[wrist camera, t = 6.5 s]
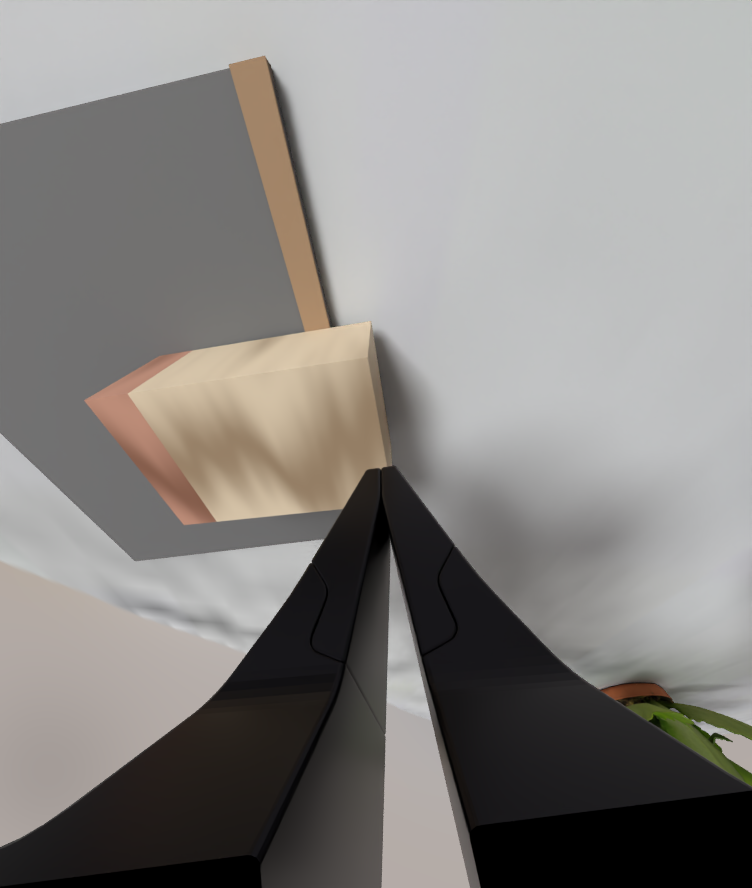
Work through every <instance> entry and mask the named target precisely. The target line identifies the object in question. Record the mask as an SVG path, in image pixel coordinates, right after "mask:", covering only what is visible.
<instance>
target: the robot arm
mask: <svg viewBox="0 0 752 888" xmlns="http://www.w3.org/2000/svg"><path fill="white" fill-rule="evenodd" d="M390 540H391V545H392V550H393V554H394V559H395V563H396V567H397V572H398V576H399V580H400V585H401V589H402V593H403V598H404V602H405V606H406V611H407V615H408V619H409V624H410V628H411V632H412V637H413V641H414V645H415V650H416V654H417V658H418V663H419V667H420V671H421V676H422V680H423V684H424V689H425V693H426V698H427V702H428V706H429V711H430V715H431V719H432V724H433V727H434V731H435V737H436V741H437V745H438V750H439V754H440V758H441V763H442V767H443V771H444V776H445V780H446V784H447V788H448V792H449V797H450V802H451V806H452V810H453V814H454V819H455V823H456V828H457V832H458V836H459V841H460V845H461V850H462V854H463V858H464V862H465V867H466V871H467V875H468V880H469V884H470V888H752V786H750V785H749V784H747V783H745V782H744V781H742V780H740V779H738V778H737V777H735V776H733V775H732V774H730V773H728V772H727V771H725V770H724V769H722V768H720V767H719V766H717V765H716V764H714V763H713V762H711V761H710V760H708V759H706V758H705V757H703V756H702V755H700V754H699V753H697V752H696V751H694V750H692V749H691V748H689V747H688V746H686V745H685V744H683V743H681V742H680V741H678V740H677V739H675V738H674V737H672V736H671V735H669V734H667V733H666V732H664V731H663V730H661V729H660V728H658V727H657V726H655V725H653V724H652V723H650V722H649V721H647V720H646V719H644V718H643V717H641V716H639V715H638V714H636V713H635V712H633V711H632V710H630V709H629V708H627V707H625V706H624V705H622V704H621V703H619V702H618V701H616V700H615V699H613V698H611V697H610V696H608V695H607V694H605V693H604V692H602V691H600V690H599V689H597V688H596V687H594V686H593V685H591V684H590V683H588V682H587V681H585V680H584V679H583V678H581V677H580V676H578V675H577V674H576V673H574V672H573V671H572V670H571V669H570V668H569V667H567V666H566V665H565V664H564V663H563V662H562V661H561V660H559V659H558V658H557V657H556V656H555V655H554V654H553V653H552V652H551V651H550V650H549V649H548V648H547V647H546V646H545V645H544V644H543V643H542V642H541V641H540V640H539V639H538V638H537V637H536V635H535V634H534V633H533V632H532V631H531V630H530V629H529V628H528V627H527V626H526V625H525V624H524V623H523V622H522V621H521V620H520V619H519V618H518V617H517V616H516V615H515V614H514V613H513V612H512V610H511V609H510V608H509V607H508V606H507V605H506V604H505V603H504V602H503V601H502V600H501V599H500V598H499V597H498V596H497V595H496V594H495V593H494V592H493V590H492V589H491V588H490V587H489V586H488V585H487V584H486V583H485V582H484V581H483V579H482V578H481V577H480V576H479V575H478V574H477V572H476V571H475V570H474V569H473V567H472V566H471V565H470V564H469V562H468V561H467V560H466V559H465V557H464V556H463V555H462V553H461V552H460V551H459V549H458V548H457V547H455V544H454V543H453V542H452V540H451V539H450V538H449V536H448V535H447V534H446V532H445V531H444V530H443V528H442V527H441V526H440V524H439V523H438V522H437V520H436V519H435V518H434V516H433V515H432V514H431V512H430V511H429V510H428V508H427V507H426V506H425V504H424V503H423V502H422V500H421V499H420V498H419V496H418V495H417V494H416V492H415V491H414V490H413V488H412V487H411V486H410V485H409V483H408V482H407V481H406V479H405V478H404V477H403V475H402V474H401V473H400V471H399V470H398V469H397V467H396V466H388V467H383V468H382V469H380V468H373V469H367V470H366V471H365V473H364V475H363V476H362V478H361V480H360V481H359V483H358V485H357V486H356V488H355V490H354V491H353V493H352V495H351V496H350V498H349V500H348V501H347V503H346V505H345V506H344V508H343V510H342V511H341V513H340V514H339V516H338V518H337V519H336V521H335V523H334V524H333V526H332V528H331V529H330V531H329V533H328V534H327V536H326V538H325V539H324V541H323V543H322V544H321V546H320V548H319V549H318V551H317V553H316V554H315V556H314V558H313V559H312V563H310V564H309V566H308V567H307V569H306V571H305V572H304V574H303V576H302V577H301V579H300V580H299V582H298V584H297V585H296V587H295V588H294V590H293V591H292V593H291V595H290V596H289V597H288V599H287V600H286V602H285V603H284V604H283V606H282V607H281V609H280V610H279V611H278V613H277V614H276V616H275V617H274V618H273V620H272V621H271V622H270V624H269V625H268V626H267V628H266V629H265V630H264V632H263V633H262V634H261V636H260V637H259V638H258V640H257V641H256V643H255V644H254V645H253V647H252V648H251V649H250V651H249V652H248V653H247V655H246V656H245V657H244V659H243V660H242V661H241V663H240V664H239V665H238V667H237V668H236V669H235V671H234V672H233V673H232V675H231V676H230V677H229V678H228V680H227V681H226V682H225V683H224V684H223V686H222V687H221V688H220V689H219V690H218V691H217V692H216V693H215V694H214V695H213V696H212V697H211V698H210V700H208V701H207V702H206V703H205V704H204V705H203V706H202V707H201V708H200V709H199V710H197V711H196V712H195V713H194V714H192V715H191V716H190V717H188V718H187V719H186V720H184V721H183V722H182V723H180V724H179V725H178V726H176V727H175V728H174V729H172V730H171V731H170V732H168V733H167V734H166V735H165V736H163V737H162V738H161V739H159V740H158V741H156V742H155V743H154V744H152V745H151V746H150V747H148V748H147V749H146V750H144V751H143V752H142V753H140V754H139V755H138V756H136V757H135V758H134V759H132V760H131V761H130V762H128V763H127V764H126V765H124V766H123V767H122V768H120V769H119V770H118V771H116V772H115V773H114V774H112V775H111V776H110V777H108V778H107V779H106V780H104V781H103V782H102V783H100V784H99V785H98V786H96V787H95V788H93V789H92V790H91V791H89V792H88V793H87V794H86V795H84V796H83V797H81V798H80V799H79V800H77V801H76V802H75V803H73V804H72V805H71V806H69V807H68V808H67V809H65V810H64V811H62V812H61V813H60V814H58V815H57V816H55V817H54V818H52V819H51V820H49V821H48V822H47V823H45V824H44V825H42V826H40V827H39V828H37V829H35V830H34V831H32V832H30V833H29V834H27V835H25V836H23V837H21V838H20V839H17V840H15V841H13V842H11V843H8V844H6V845H4V846H2V847H0V888H381V882H382V845H383V843H382V842H383V809H384V772H385V732H386V697H387V660H388V623H389V586H390Z"/></svg>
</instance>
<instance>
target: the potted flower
mask: <svg viewBox="0 0 752 888" xmlns="http://www.w3.org/2000/svg"><path fill="white" fill-rule="evenodd" d="M600 691H602V692H604V693H605V694H607V695H608V696H610V697H611V698H613V699H615V700H616V701H618V702H619V703H621V704H622V705H624V706H625V707H627V708H629V709H630V710H632V711H633V712H635V713H636V714H638V715H639V716H641V717H643V718H644V719H646V720H647V721H649V722H650V723H652V724H653V725H655V726H657V727H658V728H660V729H661V730H663V731H664V732H666V733H667V734H669V735H671V736H672V737H674V738H675V739H677V740H678V741H680V742H681V743H683V744H685V745H686V746H688V747H689V748H691V749H692V750H694V751H696V752H697V753H699V754H700V755H702V756H703V757H705V758H706V759H708V760H710V761H711V762H713V763H714V764H716V765H717V766H719V767H720V768H722V769H724V770H725V771H727V772H728V773H730V774H732V775H733V776H735V777H737V778H738V779H740V780H742V781H744V782H745V783H747V784H749V785H750V786H752V774H751V773H750V772H748V771H747V770H745V769H744V768H742V767H740V766H739V765H737V764H735V763H734V762H733V761H731V760H729V759H727V758H726V757H725V755H724V754H723V753H722V749H721V748H720V747H719V746H718V745H717V744H716V743H715V739H716V738H717V739H722V740H723V739H724V740H726V741H731V740H729V739H728V738H726V737H724V736H722V735H720V734H718V733H713V734H712V735H711V736H710V735H709V734H708V733H707V732H705V731H703V730H701V728H700V727H698V726H696V725H695V724H694V722H693V721H691V720H692V719H694V720H695V721H696V722H701V721H704V722H706V723H708V724H711V725H713V726H715V727H717V728H724V729H726V730H728V731H730V732H732V733H734V734H740V735H742V736H745V737H746V738H748V739H750V740H752V726H750V725H748V724H745V723H743V722H740V721H738V720H736V719H733V718H730V717H728V716H725V715H722V714H719V713H716V712H714V711H710V710H707V709H703V708H700V707H696V706H691V705H685V704H679V703H674V702H673V701H672V698H670V696H669V695H668V694H667V693H666V692H665V691H664V689H663V688H661V687H659V686H658V685H656V684H649V683H631V684H622V685H617V686H613V687H609V688H606V689H603V690H600ZM670 708H675V709H676V710H678V711H679V712H680V713H677V712H673V711H672V710H670ZM684 715H686V716H687V717H688V718H689V719H688V718H686V717H685V716H684ZM731 742H733V741H731Z"/></svg>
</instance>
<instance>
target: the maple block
mask: <svg viewBox="0 0 752 888" xmlns="http://www.w3.org/2000/svg"><path fill="white" fill-rule="evenodd" d="M84 401H85V402H86V403H87V405H88V406H89V407H90V408H91V410H92V411H93V412H94V413H95V415H96V416H97V417H98V418H99V420H100V421H101V422H102V423H103V425H104V426H105V427H106V428H107V430H108V431H109V432H110V433H111V435H112V436H113V437H114V438H115V440H116V441H117V442H118V443H119V445H120V446H121V447H122V448H123V450H124V451H125V452H126V453H127V455H128V456H129V457H130V458H131V460H132V461H133V462H134V463H135V465H136V466H137V467H138V468H139V470H140V471H141V472H142V473H143V475H144V476H145V477H146V478H147V480H148V481H149V482H150V483H151V485H152V486H153V487H154V488H155V490H156V491H157V492H158V493H159V495H160V496H161V497H162V498H163V500H164V501H165V502H166V503H167V505H168V506H169V507H170V508H171V510H172V511H173V512H174V513H175V515H176V516H177V517H178V518H179V520H180V521H181V522H182V523H183V525H190V524H200V523H210V522H220V521H229V520H239V519H249V518H259V517H269V516H279V515H288V514H298V513H308V512H318V511H328V510H338V509H343V508H344V506H345V505H346V503H347V501H348V500H349V498H350V496H351V495H352V493H353V491H354V490H355V488H356V486H357V485H358V483H359V481H360V480H361V478H362V476H363V475H364V473H365V471H366V470H367V469H373V468H380V469H382V468H383V467H388V466H392V456H391V442H390V436H389V429H388V423H387V417H386V411H385V404H384V398H383V392H382V386H381V380H380V373H379V367H378V361H377V355H376V349H375V342H374V336H373V330H372V324H371V321H369V322H363V323H357V324H351V325H344V326H338V327H332V328H326V329H320V330H314V331H308V332H302V333H296V334H290V335H284V336H277V337H271V338H265V339H259V340H253V341H247V342H241V343H235V344H229V345H223V346H217V347H210V348H204V349H198V350H192V351H186V352H180V353H174V354H168V355H162V356H158V357H157V358H155V359H153V360H152V361H150V362H148V363H147V364H145V365H143V366H142V367H140V368H138V369H136V370H135V371H133V372H131V373H130V374H128V375H126V376H125V377H123V378H121V379H119V380H118V381H116V382H114V383H113V384H111V385H109V386H108V387H106V388H104V389H102V390H101V391H99V392H97V393H96V394H94V395H92V396H91V397H89V398H87V399H85V400H84Z"/></svg>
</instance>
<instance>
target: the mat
mask: <svg viewBox="0 0 752 888" xmlns="http://www.w3.org/2000/svg"><path fill="white" fill-rule="evenodd" d="M229 67H230V68H229V69H224V70H220V71H216V72H212V73H208V74H204V75H200V76H196V77H192V78H187V79H183V80H179V81H175V82H171V83H167V84H163V85H159V86H155V87H150V88H146V89H142V90H138V91H134V92H130V93H126V94H122V95H117V96H113V97H109V98H105V99H101V100H97V101H93V102H89V103H85V104H80V105H76V106H72V107H68V108H64V109H60V110H56V111H52V112H48V113H43V114H39V115H35V116H31V117H27V118H23V119H19V120H15V121H11V122H6V123H2V124H0V433H1V434H2V435H3V436H4V437H5V438H6V439H7V440H8V441H9V442H10V443H11V444H12V445H13V446H15V447H16V448H17V449H18V450H19V451H20V452H21V453H22V454H23V455H24V456H25V457H26V458H27V459H28V460H29V461H30V462H31V463H32V464H33V465H34V466H36V467H37V468H38V469H39V470H40V471H41V472H42V473H43V474H44V475H45V476H46V477H47V478H48V479H49V480H50V481H51V482H52V483H53V484H54V485H56V486H57V487H58V488H59V489H60V490H61V491H62V492H63V493H64V494H65V495H66V496H67V497H68V498H69V499H70V500H71V501H72V502H73V503H74V504H75V505H77V506H78V507H79V508H80V509H81V510H82V511H83V512H84V513H85V514H86V515H87V516H88V517H89V518H90V519H91V520H92V521H93V522H94V523H95V524H97V525H98V526H99V527H100V528H101V529H102V530H103V531H104V532H105V533H106V534H107V535H108V536H109V537H110V538H111V539H112V540H113V541H114V542H115V543H116V544H118V545H119V546H120V547H121V548H122V549H123V550H124V551H125V552H126V553H127V554H128V555H129V556H130V557H131V558H132V559H133V560H134V561H141V560H150V559H158V558H167V557H175V556H184V555H192V554H201V553H209V552H218V551H226V550H235V549H243V548H252V547H260V546H269V545H277V544H285V543H294V542H302V541H311V540H319V539H325V538H326V536H327V534H328V533H329V531H330V529H331V528H332V526H333V524H334V523H335V521H336V519H337V518H338V516H339V514H340V513H341V511H342V510H343V509H338V510H328V511H318V512H308V513H298V514H288V515H279V516H269V517H259V518H249V519H239V520H229V521H220V522H210V523H200V524H190V525H183V523H182V522H181V521H180V520H179V518H178V517H177V516H176V515H175V513H174V512H173V511H172V510H171V508H170V507H169V506H168V505H167V503H166V502H165V501H164V500H163V498H162V497H161V496H160V495H159V493H158V492H157V491H156V490H155V488H154V487H153V486H152V485H151V483H150V482H149V481H148V480H147V478H146V477H145V476H144V475H143V473H142V472H141V471H140V470H139V468H138V467H137V466H136V465H135V463H134V462H133V461H132V460H131V458H130V457H129V456H128V455H127V453H126V452H125V451H124V450H123V448H122V447H121V446H120V445H119V443H118V442H117V441H116V440H115V438H114V437H113V436H112V435H111V433H110V432H109V431H108V430H107V428H106V427H105V426H104V425H103V423H102V422H101V421H100V420H99V418H98V417H97V416H96V415H95V413H94V412H93V411H92V410H91V408H90V407H89V406H88V405H87V403H86V402H85V401H84V400H85V399H87V398H89V397H91V396H92V395H94V394H96V393H97V392H99V391H101V390H102V389H104V388H106V387H108V386H109V385H111V384H113V383H114V382H116V381H118V380H119V379H121V378H123V377H125V376H126V375H128V374H130V373H131V372H133V371H135V370H136V369H138V368H140V367H142V366H143V365H145V364H147V363H148V362H150V361H152V360H153V359H155V358H157V357H158V356H162V355H168V354H174V353H180V352H186V351H192V350H198V349H204V348H210V347H217V346H223V345H229V344H235V343H241V342H247V341H253V340H259V339H265V338H271V337H277V336H284V335H290V334H296V333H302V332H308V331H314V330H320V329H326V328H332V325H331V321H330V317H329V312H328V308H327V304H326V300H325V295H324V291H323V287H322V283H321V278H320V274H319V270H318V265H317V261H316V257H315V253H314V248H313V244H312V240H311V235H310V231H309V227H308V223H307V218H306V214H305V210H304V206H303V201H302V197H301V193H300V188H299V184H298V180H297V176H296V171H295V167H294V163H293V158H292V154H291V150H290V146H289V141H288V137H287V133H286V129H285V124H284V120H283V116H282V111H281V107H280V103H279V99H278V94H277V90H276V86H275V82H274V77H273V73H272V69H271V65H270V64H269V62H268V60H267V59H266V57H265V56H262V57H258V58H254V59H249V60H245V61H241V62H237V63H233V64H229Z"/></svg>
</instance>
